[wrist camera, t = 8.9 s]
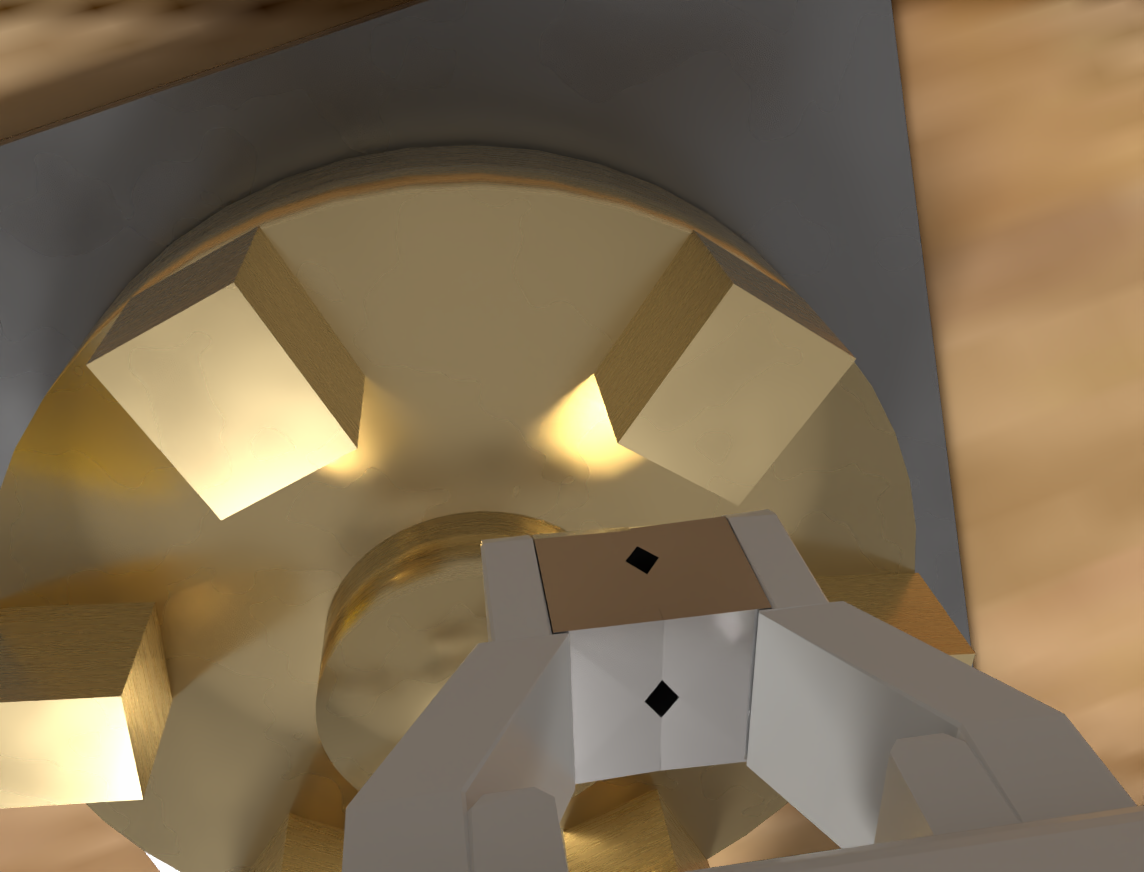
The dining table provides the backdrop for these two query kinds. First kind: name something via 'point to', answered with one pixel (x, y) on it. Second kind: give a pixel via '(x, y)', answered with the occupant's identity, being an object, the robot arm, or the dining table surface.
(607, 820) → the gold radial fin assembly
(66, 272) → the base plate
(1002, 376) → the dining table surface
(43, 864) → the dining table surface
